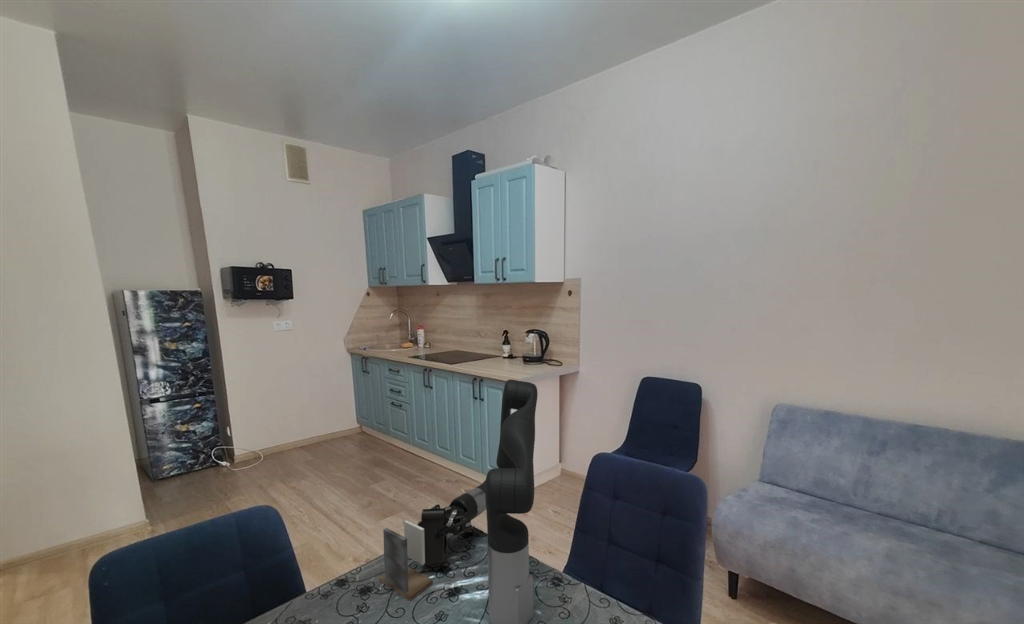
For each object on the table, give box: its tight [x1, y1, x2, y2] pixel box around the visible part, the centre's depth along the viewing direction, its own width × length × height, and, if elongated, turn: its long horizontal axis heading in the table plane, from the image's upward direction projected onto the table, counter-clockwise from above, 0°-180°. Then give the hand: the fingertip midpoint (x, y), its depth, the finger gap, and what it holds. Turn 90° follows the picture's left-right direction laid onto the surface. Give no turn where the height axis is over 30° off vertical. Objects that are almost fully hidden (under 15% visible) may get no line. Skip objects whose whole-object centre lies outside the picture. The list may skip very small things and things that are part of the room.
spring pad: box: [403, 519, 426, 566], centre depth 105 cm, size 9×1×12 cm, turn 54°
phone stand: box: [420, 508, 449, 564], centre depth 110 cm, size 9×6×12 cm, turn 1°
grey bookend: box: [379, 527, 434, 602], centre depth 102 cm, size 12×7×14 cm, turn 54°
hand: (426, 531), depth 108 cm, fingers closed on phone stand, 6 cm apart
